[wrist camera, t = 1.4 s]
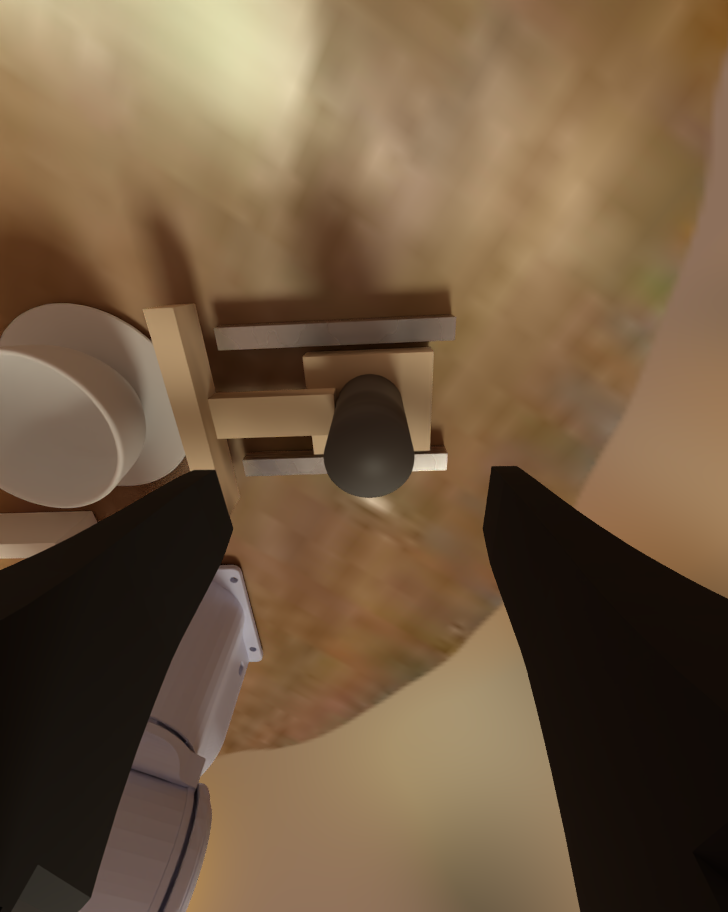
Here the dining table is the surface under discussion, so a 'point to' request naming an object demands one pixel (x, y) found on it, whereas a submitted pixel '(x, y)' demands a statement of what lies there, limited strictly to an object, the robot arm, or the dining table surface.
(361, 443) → the pushrod
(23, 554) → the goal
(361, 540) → the dining table surface
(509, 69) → the dining table surface
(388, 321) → the rail
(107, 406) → the teacup
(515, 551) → the robot arm
